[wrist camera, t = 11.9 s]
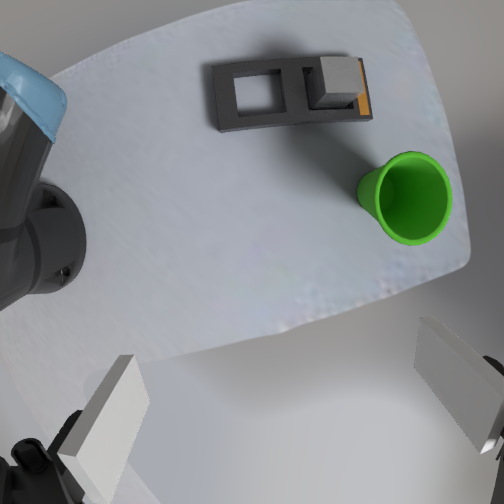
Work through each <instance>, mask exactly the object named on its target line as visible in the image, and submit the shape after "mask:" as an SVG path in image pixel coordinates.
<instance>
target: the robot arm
mask: <svg viewBox="0 0 504 504" xmlns="http://www.w3.org/2000/svg"><path fill="white" fill-rule="evenodd" d="M66 107H67V98H66V95H65V93H64V91H63V90H62V89H61V88H60V87H59V86H58V85H56V84H55V83H54V82H52V81H51V80H49V79H48V78H46V77H45V76H43V75H42V74H40V73H39V72H37V71H35V70H34V69H32V68H31V67H29V66H27V65H25V64H24V63H22V62H20V61H18V60H16V59H15V58H12V57H11V56H9V55H6V54H4V53H3V52H0V311H2V310H3V309H5V308H6V307H8V306H9V305H11V304H12V303H14V302H15V301H17V300H19V299H20V298H22V297H23V296H25V295H27V294H47V293H52V292H55V291H58V290H60V289H61V288H63V287H65V286H66V285H68V284H69V283H70V282H72V281H73V280H74V279H75V277H76V276H77V275H78V273H79V271H80V270H81V267H82V265H83V262H84V259H85V253H86V233H85V227H84V223H83V220H82V217H81V214H80V212H79V210H78V208H77V207H76V205H75V203H74V202H73V201H72V199H71V198H70V197H69V196H68V195H67V194H66V193H65V192H63V191H62V190H61V189H59V188H57V187H55V186H52V185H48V184H38V185H37V183H38V181H39V178H40V175H41V172H42V170H43V167H44V164H45V162H46V159H47V157H48V154H49V152H50V149H51V147H52V145H53V144H55V142H56V137H55V136H56V133H57V131H58V128H59V126H60V123H61V121H62V118H63V116H64V113H65V111H66ZM414 368H415V369H416V370H417V372H418V373H419V374H420V375H421V377H422V378H423V379H424V380H425V382H426V383H427V384H428V386H429V387H430V388H431V389H432V391H433V392H434V393H435V395H437V397H438V398H439V400H440V401H441V402H442V403H443V405H444V406H445V408H446V409H447V410H448V411H449V413H450V414H451V415H452V417H453V418H454V419H455V421H456V422H457V423H458V425H459V426H460V427H461V428H462V430H463V431H464V433H465V434H466V436H467V437H468V438H469V440H470V441H471V442H472V444H473V445H474V446H475V448H476V449H477V451H478V452H479V453H480V454H481V453H483V452H485V451H487V450H489V449H491V448H493V447H495V446H496V444H497V442H498V439H499V437H500V435H501V436H502V437H503V439H504V367H503V365H502V364H500V363H499V362H498V361H497V360H495V359H493V358H491V357H488V356H483V357H481V356H480V355H479V354H478V353H477V352H476V351H475V350H473V349H472V348H471V347H470V346H469V345H468V344H466V343H465V342H464V341H463V340H462V339H461V338H459V337H458V336H457V335H456V334H455V333H453V332H452V331H451V330H450V329H449V328H447V327H446V326H445V325H444V324H443V323H442V322H440V321H439V320H438V319H437V318H436V317H434V316H433V315H430V316H426V317H422V318H419V326H418V337H417V346H416V355H415V363H414ZM149 403H150V400H149V397H148V394H147V392H146V389H145V386H144V383H143V380H142V377H141V374H140V371H139V368H138V365H137V362H136V359H135V355H119V357H118V358H117V360H116V361H115V363H114V364H113V366H112V367H111V369H110V370H109V372H108V373H107V375H106V376H105V378H104V379H103V381H102V382H101V384H100V385H99V387H98V388H97V390H96V391H95V393H94V395H93V396H92V398H91V399H90V401H89V402H88V404H87V405H86V407H85V409H84V410H77V411H76V412H74V413H73V414H72V415H71V416H69V417H68V419H67V420H66V422H65V423H64V425H63V427H62V428H61V429H60V431H59V433H58V434H57V435H56V437H55V439H54V440H53V442H52V443H51V445H50V446H49V448H48V450H47V451H46V450H45V448H44V447H43V445H42V444H41V442H40V441H39V440H37V439H35V438H27V439H23V440H21V441H19V442H18V443H16V444H15V445H14V447H13V448H12V450H11V456H12V457H13V459H14V460H15V461H16V463H17V464H18V466H9V464H8V463H7V462H6V460H5V459H4V458H2V457H1V456H0V504H84V502H83V501H82V499H83V496H84V494H86V495H87V496H88V498H89V499H90V500H91V501H92V502H95V503H99V504H111V501H112V498H113V496H114V493H115V490H116V487H117V485H118V482H119V479H120V477H121V474H122V471H123V469H124V466H125V464H126V461H127V458H128V456H129V453H130V451H131V448H132V445H133V443H134V440H135V438H136V435H137V433H138V430H139V428H140V425H141V423H142V420H143V418H144V415H145V413H146V410H147V408H148V405H149ZM500 456H501V457H500ZM499 457H500V462H499V468H498V473H497V478H496V483H495V488H494V492H493V496H492V500H491V504H504V443H503V445H502V448H501V449H500V451H499V454H498V455H497V458H496V460H498V459H499Z"/></svg>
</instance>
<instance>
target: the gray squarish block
mask: <svg viewBox="0 0 504 504" xmlns="http://www.w3.org/2000/svg"><path fill="white" fill-rule="evenodd" d="M307 85H308V91H309V97H310V104H311V109H322V108H343V107H344V106H346V105H347V104H349V103H350V102H352V101H353V100H354V99H356V98H357V97H359V96H360V95H361V94H363V93H364V87H363V82H362V77H361V72H360V66H359V62H358V57H319V59H318V61H317V62H316V64H315V66H314V67H313V69H312V71H311V72H310V74H309V76H308V77H307Z"/></svg>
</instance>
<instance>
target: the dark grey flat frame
mask: <svg viewBox="0 0 504 504" xmlns="http://www.w3.org/2000/svg"><path fill="white" fill-rule="evenodd" d="M318 59H319V58H290V59H274V60H262V61H252V62H242V63H234V64H226V65H219V66H212V70H213V78H214V87H215V96H216V104H217V113H218V121H219V129H220V132H221V133H225V132H232V131H240V130H248V129H257V128H266V127H276V126H287V125H300V124H314V123H333V122H363V121H369V120H372V119H373V116H372V109H371V103H370V97H369V91H368V86H367V80H366V75H365V70H364V65H363V60H362V58H358V62H359V66H360V72H361V77H362V82H363V87H364V93H363V94H361V95H360V96H359V97H357V98H356V99H354V100H353V101H352V102H350V103H349V104H348V108H349V109H337V110H314V111H309V109H308V102H307V96H306V89H305V83H304V77H303V72H311V71H312V69H313V67H314V66H315V64H316V62H317V61H318ZM268 74H279V76H280V83H281V90H282V97H283V104H284V111H285V113H274V114H263V115H254V116H245V117H238V109H237V101H236V94H235V86H234V78H239V77H248V76H258V75H268Z"/></svg>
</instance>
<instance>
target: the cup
mask: <svg viewBox="0 0 504 504" xmlns="http://www.w3.org/2000/svg"><path fill="white" fill-rule="evenodd" d="M357 197H358V200H359V203H360V204H361V206H362V207H363V208H364V209H365V210H366V211H367V212H368V213H369V214H371V215H372V216H373V217H374V218H375V219H376V220H377V221H378V222H379V224H380V225H381V227H382V229H383V230H384V231H385V232H386V233H387V234H388V235H389V236H390V237H391V238H392V239H393V240H395V241H397V242H399V243H401V244H405V245H409V246H411V245H421V244H424V243H426V242H429V241H430V240H432V239H433V238H435V237H436V236H437V235H438V234H439V233H440V232H441V231H442V230H443V228H444V226H445V225H446V223H447V221H448V219H449V216H450V213H451V208H452V189H451V185H450V182H449V179H448V177H447V175H446V173H445V171H444V169H443V168H442V167H441V166H440V165H439V163H438V162H437V161H436V160H434V159H433V158H431V157H430V156H429V155H426V154H424V153H421V152H414V151H408V152H404V153H400V154H398V155H396V156H394V157H393V158H391V159H390V160H389V161H388V162H387V163H386V164H385V165H383V166H381V167H379V168H377V169H375V170H373V171H371V172H369V173H368V174H366V175H365V176H364V177H362V179H361V180H360V182H359V184H358V187H357Z"/></svg>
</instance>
